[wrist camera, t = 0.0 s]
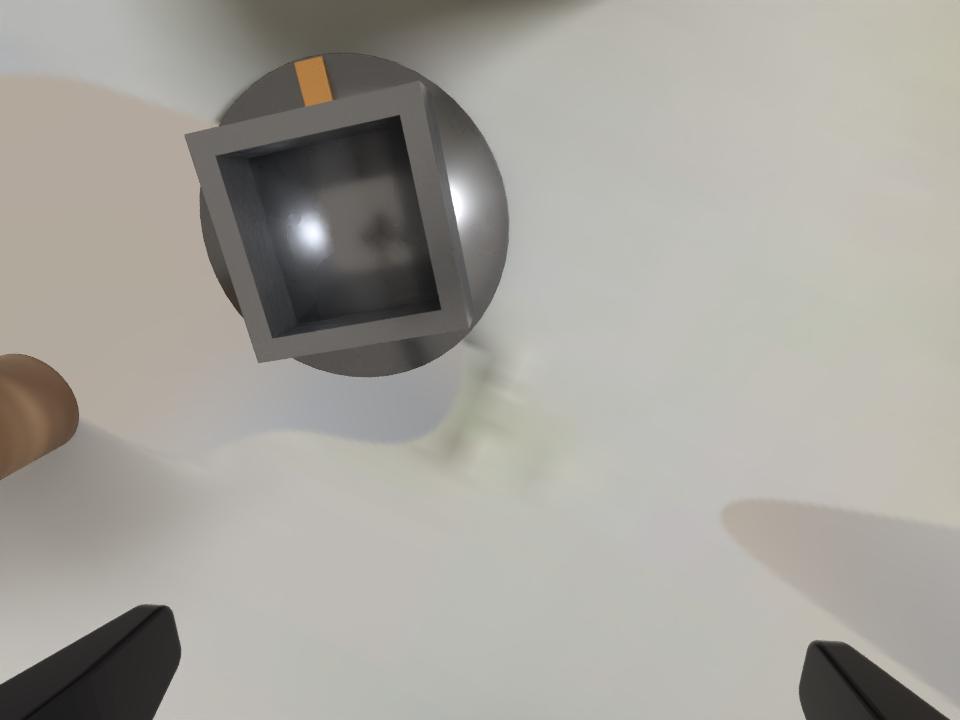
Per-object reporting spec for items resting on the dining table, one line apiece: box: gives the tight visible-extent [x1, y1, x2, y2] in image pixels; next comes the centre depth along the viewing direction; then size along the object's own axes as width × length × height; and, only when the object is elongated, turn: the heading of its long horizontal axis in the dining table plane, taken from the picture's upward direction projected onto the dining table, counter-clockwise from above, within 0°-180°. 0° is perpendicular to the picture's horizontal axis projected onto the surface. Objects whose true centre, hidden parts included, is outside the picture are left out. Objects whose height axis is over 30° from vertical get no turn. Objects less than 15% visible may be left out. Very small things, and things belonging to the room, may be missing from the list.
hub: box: [185, 53, 509, 377], centre depth 19 cm, size 12×12×3 cm
